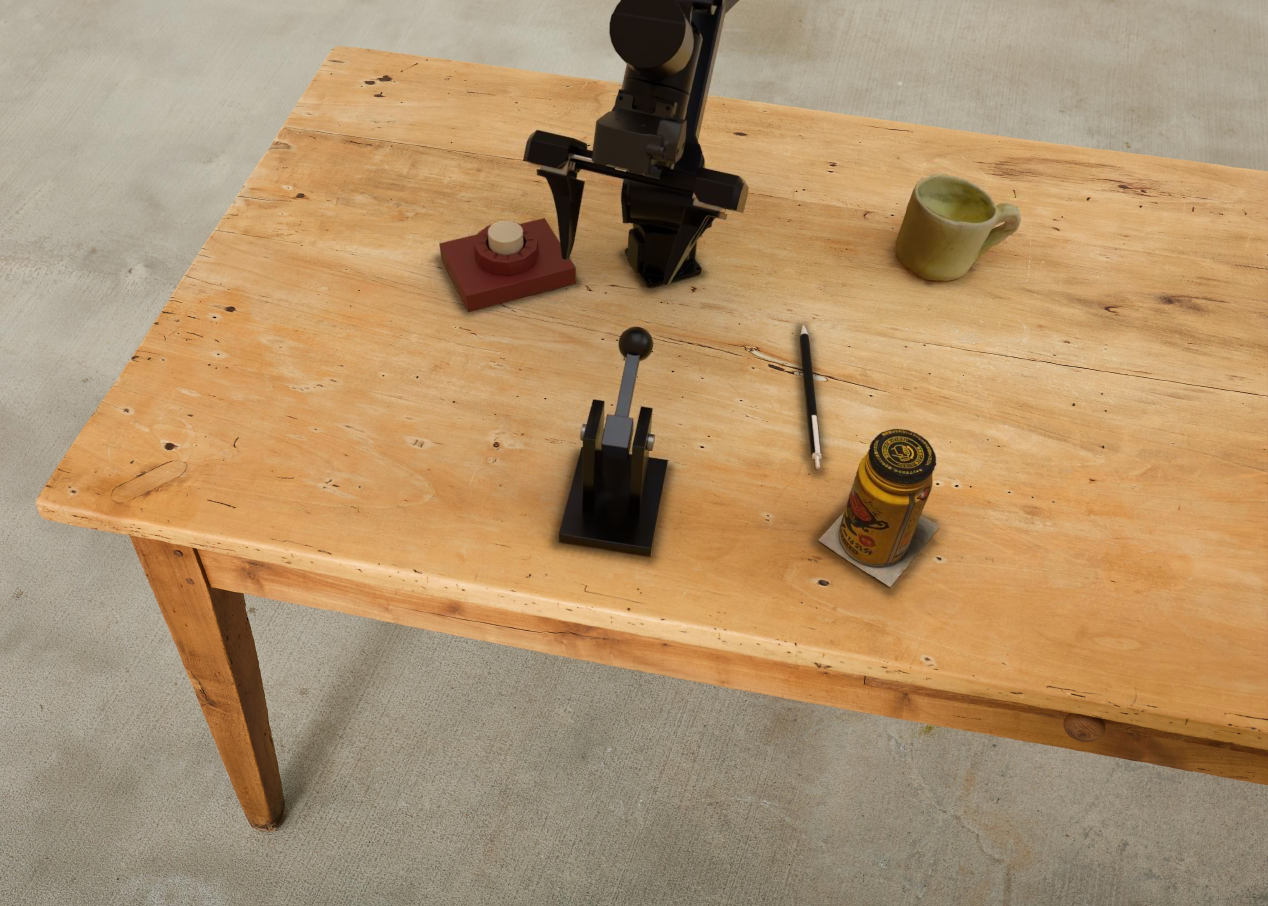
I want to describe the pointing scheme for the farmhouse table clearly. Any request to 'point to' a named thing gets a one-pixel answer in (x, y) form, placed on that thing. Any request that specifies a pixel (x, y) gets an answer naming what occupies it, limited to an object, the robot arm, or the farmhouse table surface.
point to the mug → (951, 227)
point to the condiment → (887, 506)
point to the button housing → (506, 266)
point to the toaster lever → (625, 394)
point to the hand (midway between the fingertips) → (615, 272)
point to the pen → (810, 397)
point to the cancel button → (505, 237)
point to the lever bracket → (614, 491)
